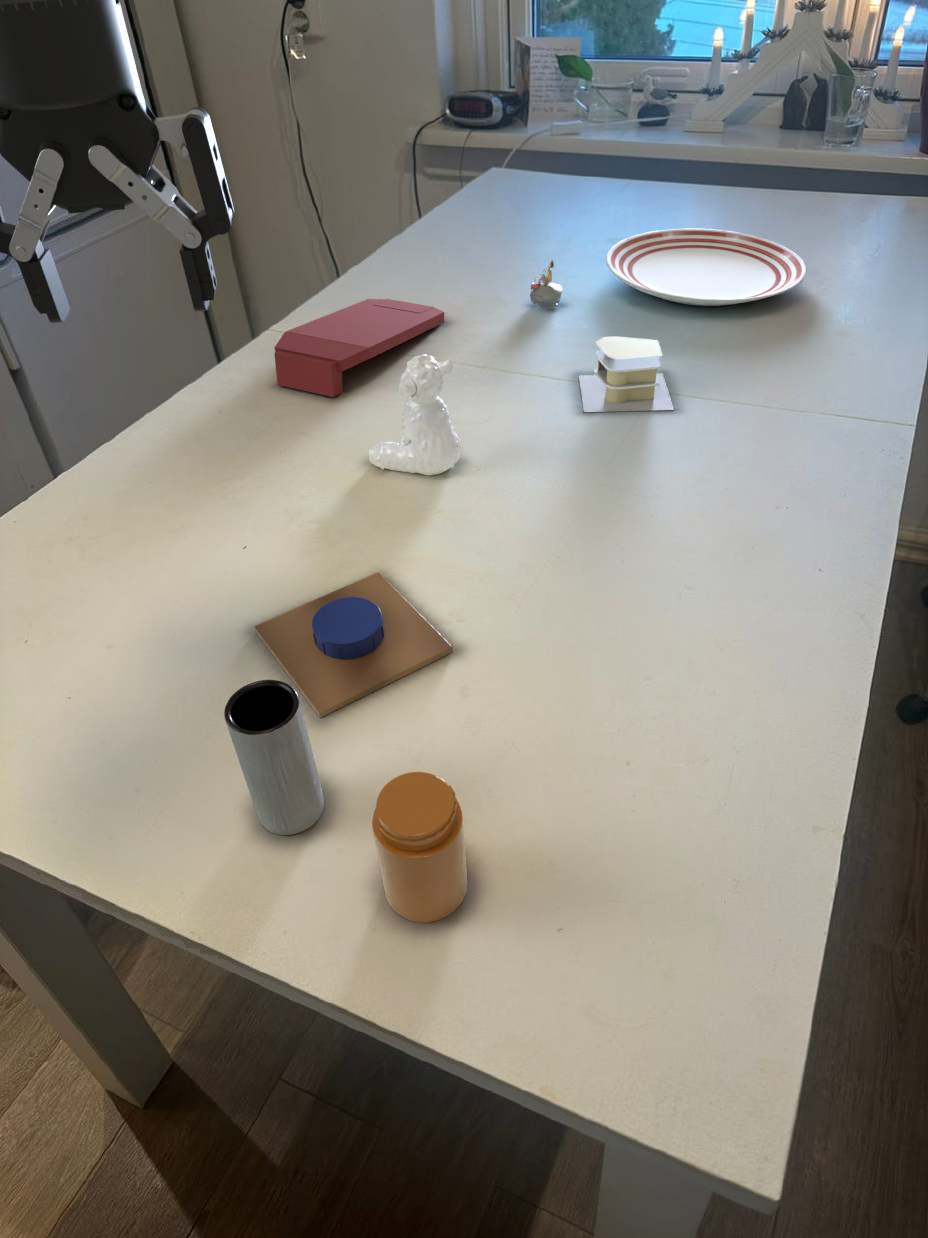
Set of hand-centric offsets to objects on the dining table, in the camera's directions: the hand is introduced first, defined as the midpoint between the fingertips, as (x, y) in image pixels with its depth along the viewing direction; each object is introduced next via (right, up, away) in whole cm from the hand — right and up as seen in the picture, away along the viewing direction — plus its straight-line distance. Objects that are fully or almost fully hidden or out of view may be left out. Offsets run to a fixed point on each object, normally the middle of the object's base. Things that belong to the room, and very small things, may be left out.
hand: (132, 312), depth 53 cm
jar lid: (+11, -19, +17) cm, 28 cm away
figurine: (+32, +25, +68) cm, 79 cm away
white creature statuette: (+16, -2, +39) cm, 42 cm away
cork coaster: (+11, -21, +18) cm, 30 cm away
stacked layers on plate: (+39, +7, +48) cm, 62 cm away
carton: (+7, +16, +60) cm, 62 cm away
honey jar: (+18, -35, +2) cm, 40 cm away
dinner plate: (+54, +29, +72) cm, 94 cm away
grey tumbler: (+8, -32, +6) cm, 34 cm away
